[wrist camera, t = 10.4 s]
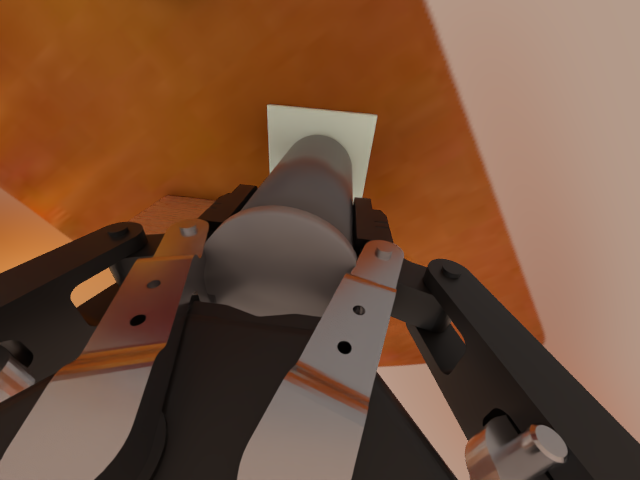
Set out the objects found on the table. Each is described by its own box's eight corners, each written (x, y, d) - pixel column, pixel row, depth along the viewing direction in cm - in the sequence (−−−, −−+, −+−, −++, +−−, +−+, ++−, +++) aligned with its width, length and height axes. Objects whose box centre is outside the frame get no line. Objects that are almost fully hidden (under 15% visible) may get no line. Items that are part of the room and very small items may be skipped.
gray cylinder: (281, 200, 18) (213, 327, 9) (280, 127, 15) (182, 205, 6) (349, 208, 18) (348, 345, 9) (361, 135, 15) (377, 228, 6)
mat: (272, 201, 20) (270, 204, 20) (269, 104, 16) (267, 105, 16) (358, 210, 20) (359, 214, 19) (376, 114, 16) (377, 115, 16)
